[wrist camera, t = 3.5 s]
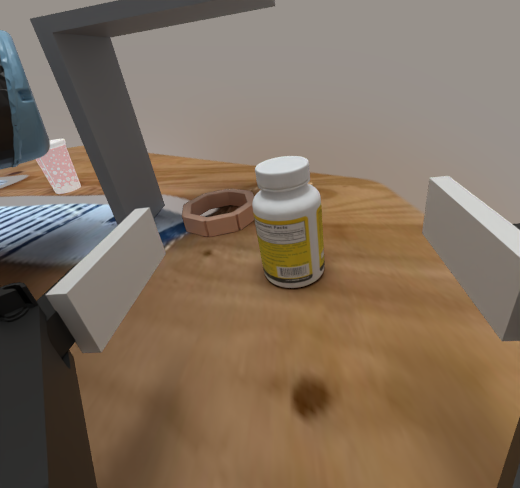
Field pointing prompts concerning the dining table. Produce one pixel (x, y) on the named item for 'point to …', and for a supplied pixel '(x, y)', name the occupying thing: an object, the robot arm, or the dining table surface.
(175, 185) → the dining table surface
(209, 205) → the socket
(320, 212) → the supplement bottle
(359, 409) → the dining table surface
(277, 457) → the dining table surface
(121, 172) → the grey l-shaped rod
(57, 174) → the beverage cup
